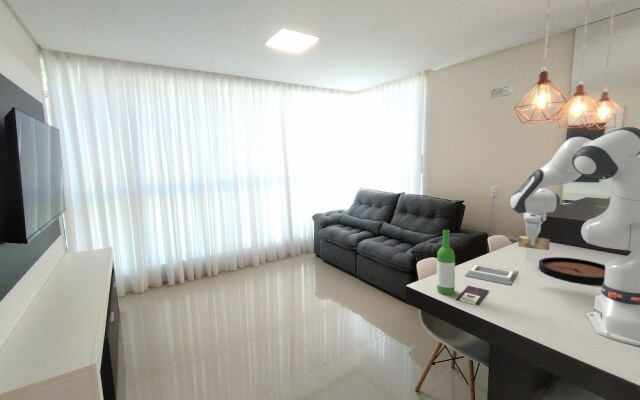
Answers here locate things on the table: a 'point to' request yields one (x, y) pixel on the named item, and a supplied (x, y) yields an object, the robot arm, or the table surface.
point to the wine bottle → (446, 266)
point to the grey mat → (492, 274)
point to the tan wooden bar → (539, 243)
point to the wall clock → (573, 270)
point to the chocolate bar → (472, 295)
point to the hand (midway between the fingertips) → (533, 243)
